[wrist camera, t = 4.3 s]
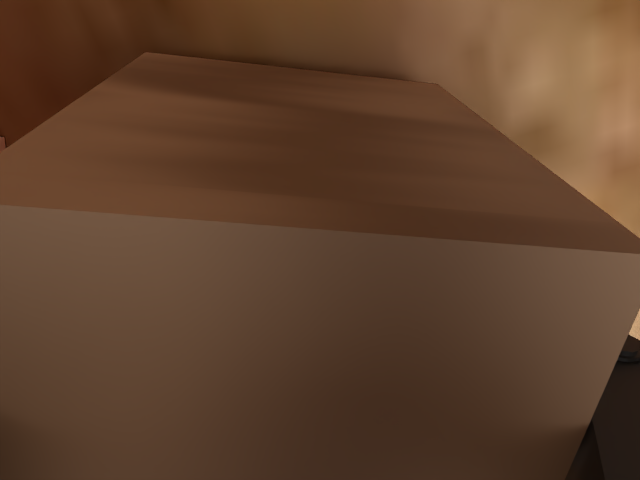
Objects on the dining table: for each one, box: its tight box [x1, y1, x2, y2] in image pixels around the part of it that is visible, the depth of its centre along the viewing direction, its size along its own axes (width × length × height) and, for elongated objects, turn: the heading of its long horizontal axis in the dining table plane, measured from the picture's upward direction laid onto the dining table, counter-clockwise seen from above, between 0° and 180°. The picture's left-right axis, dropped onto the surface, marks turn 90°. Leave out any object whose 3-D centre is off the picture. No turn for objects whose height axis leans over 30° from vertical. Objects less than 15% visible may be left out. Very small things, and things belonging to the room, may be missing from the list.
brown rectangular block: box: [0, 52, 640, 480], centre depth 11 cm, size 7×7×9 cm
